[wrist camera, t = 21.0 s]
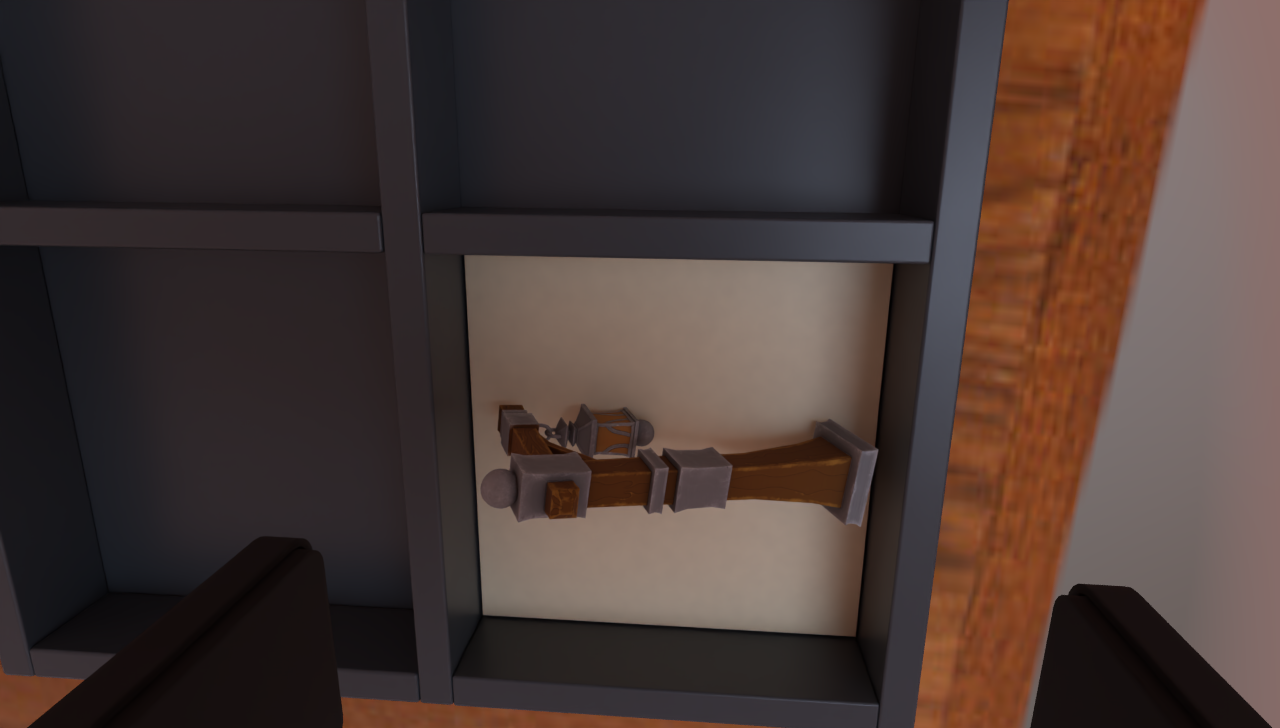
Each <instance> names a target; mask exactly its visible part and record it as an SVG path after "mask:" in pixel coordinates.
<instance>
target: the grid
mask: <svg viewBox="0 0 1280 728" xmlns="http://www.w3.org/2000/svg"><path fill="white" fill-rule="evenodd" d="M1008 2H1009V0H0V659H1V663H2V667H3V671H4V673H5V674H7V675H21V676H34V675H36V676H39V677H53V678H68V679H83V680H85V679H87V678H88V677H89V676H90V675H92V674H93V673H94V672H95V671H96V670H98V669H99V668H100V667H101V666H102V665H104V664H105V663H106V662H107V661H108V660H110V659H111V658H112V657H113V656H115V655H116V654H117V653H118V652H119V651H121V650H122V649H123V648H124V647H125V646H127V645H128V644H129V643H130V642H131V641H133V640H134V639H135V638H136V637H137V636H139V635H140V634H141V633H142V632H144V631H145V630H146V629H147V628H148V627H150V626H151V625H152V624H153V623H154V622H156V621H157V620H158V619H159V618H160V617H162V616H163V615H164V614H165V613H167V612H168V611H169V610H170V609H171V608H173V607H174V606H175V605H176V604H177V603H179V602H180V601H181V600H182V599H183V598H185V597H186V596H187V595H188V594H189V593H191V592H192V591H193V590H194V589H196V588H197V587H198V586H199V585H200V584H202V583H203V582H204V581H205V580H206V579H208V578H209V577H210V576H211V575H212V574H214V573H215V572H216V571H217V570H219V569H220V568H221V567H222V566H223V565H225V564H226V563H227V562H228V561H229V560H231V559H232V558H233V557H234V556H235V555H237V554H238V553H239V552H240V551H241V550H243V549H244V548H245V547H246V546H248V545H249V544H250V543H251V542H252V541H254V540H255V539H257V538H259V537H260V536H273V537H290V538H304V539H306V540H308V541H309V543H310V544H311V546H312V549H313V550H317V551H319V552H320V553H321V555H322V556H323V561H324V567H325V575H326V583H327V591H328V599H329V607H330V615H331V623H332V631H333V640H334V648H335V656H336V664H337V672H338V680H339V688H340V696H341V697H348V698H363V699H378V700H392V701H407V702H418V701H420V699H421V702H423V703H434V704H448V705H450V704H453V703H454V704H455V705H459V706H474V707H488V708H503V709H518V710H533V711H547V712H562V713H577V714H592V715H606V716H621V717H636V718H650V719H665V720H680V721H695V722H709V723H724V724H739V725H754V726H768V727H783V728H914V723H915V715H916V707H917V700H918V692H919V684H920V677H921V669H922V661H923V654H924V646H925V638H926V631H927V623H928V615H929V608H930V600H931V592H932V585H933V577H934V569H935V562H936V554H937V546H938V539H939V531H940V523H941V516H942V508H943V500H944V493H945V485H946V477H947V470H948V462H949V454H950V447H951V439H952V431H953V424H954V416H955V408H956V401H957V393H958V385H959V378H960V370H961V362H962V355H963V347H964V339H965V332H966V324H967V316H968V309H969V301H970V293H971V286H972V278H973V270H974V263H975V255H976V247H977V240H978V232H979V224H980V217H981V209H982V201H983V193H984V186H985V178H986V170H987V163H988V155H989V147H990V140H991V132H992V124H993V117H994V109H995V101H996V94H997V86H998V78H999V71H1000V63H1001V55H1002V48H1003V40H1004V32H1005V25H1006V17H1007V9H1008ZM581 404H585V405H586V406H587V407H588V409H589V410H590V411H591V412H592V413H600V412H614V411H619V410H622V409H623V407H627V408H628V410H629V411H630V412H631V413H632V414H633V415H634V416H635V417H636V418H637V419H638V420H639V419H641V420H646V421H648V422H650V423H651V425H652V426H653V428H654V438H653V440H652V441H651V442H650V443H649V444H648V445H646V446H642V447H641V446H636V451H635V457H637V454H638V449H643V450H645V449H649V448H650V447H651V449H652V450H653V451H654V452H655V453H656V454H657V455H658V456H662V452H663V448H668V449H673V450H702V449H705V448H709V447H713V448H714V449H715V450H716V451H718V452H719V453H720V454H733V453H746V452H752V451H757V450H763V449H769V448H775V447H780V446H786V445H792V444H797V443H800V442H804V441H807V440H810V439H813V436H814V431H815V426H816V421H818V422H826V421H827V420H828V419H831V420H833V421H834V422H836V423H837V424H839V425H840V426H842V427H844V428H845V429H847V430H848V431H850V432H852V433H853V434H855V435H856V436H858V437H859V438H861V439H863V440H864V441H866V442H867V443H869V444H871V445H872V446H874V447H875V448H877V449H879V450H878V454H877V459H876V463H875V467H874V472H873V476H872V480H871V485H870V489H869V493H868V498H867V502H866V506H865V511H864V515H863V520H862V524H861V527H860V526H858V525H857V524H850V523H848V524H847V525H845V524H843V523H842V522H841V521H840V520H839V519H837V518H836V517H835V516H834V515H833V514H831V513H830V512H829V511H828V510H827V509H825V508H824V507H823V506H822V505H820V504H814V503H801V502H786V501H771V500H756V499H751V500H727V501H726V507H725V509H722V508H715V507H706V508H693V509H686V510H683V511H680V512H677V513H674V512H673V511H672V509H671V508H670V507H669V506H668V505H663V509H662V514H660V513H655V512H654V513H651V514H648V513H647V511H646V510H645V508H644V507H643V506H620V507H597V508H587V511H586V518H581V517H577V518H566V519H549V518H535V519H529V520H525V521H522V522H518V521H517V519H516V517H515V515H514V513H513V511H512V509H511V507H510V506H509V507H507V508H502V509H500V508H494V507H491V506H490V505H488V504H487V503H486V502H485V501H484V499H483V498H482V495H481V490H480V487H481V483H482V481H483V479H484V477H485V476H486V475H487V474H488V473H489V472H490V471H493V470H495V469H507V470H509V469H510V459H511V456H507V455H506V453H505V451H504V449H503V447H502V445H501V437H500V433H499V431H498V430H497V429H498V416H499V405H523V408H524V410H527V413H532V414H533V416H534V417H535V419H536V420H537V422H538V423H543V424H546V425H548V426H549V427H550V428H556V426H557V424H558V422H559V420H560V418H561V417H562V418H563V419H564V421H565V423H566V424H567V426H568V424H569V421H571V422H572V423H573V424H574V422H575V421H576V419H577V416H578V414H579V411H580V407H581ZM545 430H546V428H543V427H539V433H540V435H542V436H543V437H544V438H547V436H546V435H545ZM552 434H555V432H552ZM548 441H549V442H551V443H554V444H557V445H559V446H561V445H560V444H559V442H558V441H557V439H556V438H550V440H548ZM566 448H567V449H570V450H573V451H576V452H578V453H581V452H580V450H579V449H578V447H577V445H576V444H575V445H574V446H573V447H572V445H571V444H570V442H569V441H567V447H566ZM593 458H594V459H614V458H629V457H626V456H622V455H603V454H598V455H593Z"/></svg>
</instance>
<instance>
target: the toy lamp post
mask: <svg viewBox="0 0 1280 728" xmlns="http://www.w3.org/2000/svg"><path fill="white" fill-rule="evenodd" d="M539 427H543V428H546V430H545V435H546V436H547V438H544V437H543V436H542V435H540V433H539ZM497 430H498V431H499V433H500V437H501V445H502V447H503V449H504V451H505V453H506V455H507V456H511V459H510V469H509V470H507V469H495V470H493V471H490V472H489V473H488V474H487V475H486V476H485V477H484V479H483V481H482V483H481V487H480V490H481V495H482V498H483V499H484V501H485V502H486V503H487V504H488V505H490V506H491V507H494V508H500V509H502V508H507V507H509V506H510V507H511V509H512V511H513V513H514V515H515V517H516V519H517V521H518V522H522V521H525V520H529V519H535V518H549V519H566V518H577V517H581V518H586V511H587V508H597V507H620V506H643V507H644V508H645V510H646V511H647V513H648V514H651V513H654V512H655V513H660V514H662V509H663V505H668V506H669V507H670V508H671V509H672V511H673V512H674V513H677V512H680V511H683V510H686V509H693V508H706V507H715V508H722V509H725V507H726V501H727V500H751V499H756V500H771V501H786V502H801V503H814V504H820V505H822V506H823V507H824V508H825V509H827V510H828V511H829V512H830V513H831V514H833V515H834V516H835V517H836V518H837V519H839V520H840V521H841V522H842V523H843V524H845V525H847V524H848V523H850V524H857V525H858V526H860V527H861V524H862V520H863V515H864V511H865V506H866V502H867V498H868V493H869V489H870V485H871V480H872V476H873V472H874V467H875V463H876V459H877V454H878V450H879V449H877V448H875V447H874V446H872V445H871V444H869V443H867V442H866V441H864V440H863V439H861V438H859V437H858V436H856V435H855V434H853V433H852V432H850V431H848V430H847V429H845V428H844V427H842V426H840V425H839V424H837V423H836V422H834V421H833V420H831V419H828V420H827V421H826V422H818V421H816V426H815V431H814V436H813V439H810V440H807V441H804V442H800V443H797V444H792V445H786V446H780V447H775V448H769V449H763V450H757V451H752V452H746V453H733V454H720V453H719V452H718V451H716V450H715V449H714V448H713V447H709V448H705V449H702V450H673V449H668V448H663V452H662V456H658V455H657V454H656V453H655V452H654V451H653V450H652V449H651V447H650V448H649V449H645V450H643V449H638V454H637V457H635V451H636V446H641V447H642V446H646V445H648V444H649V443H650V442H651V441H652V440H653V438H654V428H653V426H652V425H651V423H650V422H648V421H646V420H641V419H639V420H638V419H637V418H636V417H635V416H634V415H633V414H632V413H631V412H630V411H629V410H628V408H627V407H623V409H622V410H619V411H614V412H600V413H592V412H591V411H590V410H589V409H588V407H587V406H586V405H585V404H581V407H580V411H579V414H578V416H577V419H576V421H575V422H574V424H573V423H572V422H571V421H569V424H568V426H567V424H566V423H565V421H564V419H563V418H562V417H561V418H560V420H559V422H558V424H557V426H556V428H550V427H549V426H548V425H546V424H543V423H538V422H537V420H536V419H535V417H534V416H533V414H532V413H527V410H524V408H523V405H499V416H498V429H497ZM552 432H555V434H552ZM550 438H556V439H557V441H558V442H559V444H560V445H561V446H559V445H557V444H554V443H551V442H549V441H548V440H550ZM567 441H569V442H570V444H571V445H572V447H573V446H574V445H575V444H576V445H577V447H578V449H579V450H580V452H581V453H578V452H576V451H573V450H570V449H567V448H566V447H567ZM598 454H603V455H622V456H626V457H629V458H614V459H594V458H593V455H598Z"/></svg>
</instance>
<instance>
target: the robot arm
mask: <svg viewBox="0 0 1280 728" xmlns="http://www.w3.org/2000/svg"><path fill="white" fill-rule="evenodd" d="M342 726H343V712H342V704H341V696H340V688H339V680H338V672H337V664H336V656H335V648H334V640H333V631H332V623H331V615H330V607H329V599H328V591H327V583H326V575H325V567H324V561H323V556H322V555H321V553H320V552H319V551H317V550H313V549H312V546H311V544H310V543H309V541H308V540H306V539H304V538H290V537H273V536H260V537H259V538H257V539H255V540H254V541H252V542H251V543H250V544H249V545H248V546H246V547H245V548H244V549H243V550H241V551H240V552H239V553H238V554H237V555H235V556H234V557H233V558H232V559H231V560H229V561H228V562H227V563H226V564H225V565H223V566H222V567H221V568H220V569H219V570H217V571H216V572H215V573H214V574H212V575H211V576H210V577H209V578H208V579H206V580H205V581H204V582H203V583H202V584H200V585H199V586H198V587H197V588H196V589H194V590H193V591H192V592H191V593H189V594H188V595H187V596H186V597H185V598H183V599H182V600H181V601H180V602H179V603H177V604H176V605H175V606H174V607H173V608H171V609H170V610H169V611H168V612H167V613H165V614H164V615H163V616H162V617H160V618H159V619H158V620H157V621H156V622H154V623H153V624H152V625H151V626H150V627H148V628H147V629H146V630H145V631H144V632H142V633H141V634H140V635H139V636H137V637H136V638H135V639H134V640H133V641H131V642H130V643H129V644H128V645H127V646H125V647H124V648H123V649H122V650H121V651H119V652H118V653H117V654H116V655H115V656H113V657H112V658H111V659H110V660H108V661H107V662H106V663H105V664H104V665H102V666H101V667H100V668H99V669H98V670H96V671H95V672H94V673H93V674H92V675H90V676H89V677H88V678H87V679H85V680H84V681H83V682H82V683H81V684H79V685H78V686H77V687H76V688H75V689H73V690H72V691H71V692H70V693H69V694H67V695H66V696H65V697H64V698H63V699H61V700H60V701H59V702H58V703H56V704H55V705H54V706H53V707H52V708H50V709H49V710H48V711H47V712H46V713H44V714H43V715H42V716H41V717H40V718H38V719H37V720H36V721H35V722H33V723H32V724H31V725H30V726H29V727H27V728H342ZM1030 728H1272V727H1271V726H1270V725H1269V724H1268V723H1267V722H1266V721H1265V720H1264V719H1263V718H1262V717H1261V716H1260V715H1259V714H1258V713H1257V712H1256V711H1255V710H1254V709H1253V708H1252V707H1251V706H1250V705H1249V704H1248V703H1247V702H1246V701H1245V700H1244V699H1243V698H1242V697H1241V696H1240V695H1239V694H1238V693H1237V692H1236V691H1235V690H1234V689H1233V688H1232V687H1231V686H1230V685H1229V684H1228V683H1227V682H1226V681H1225V680H1224V679H1223V678H1222V677H1221V676H1220V675H1219V674H1218V673H1217V672H1216V671H1215V670H1214V669H1213V668H1212V667H1211V666H1210V665H1209V664H1208V663H1207V662H1206V661H1205V660H1204V659H1203V658H1202V657H1201V656H1200V655H1199V654H1198V653H1197V652H1196V651H1195V650H1194V649H1193V648H1192V647H1191V646H1190V645H1189V644H1188V643H1187V642H1186V641H1185V640H1184V639H1183V637H1182V636H1181V635H1179V633H1177V631H1176V630H1175V629H1174V628H1172V626H1170V625H1169V623H1167V621H1166V620H1165V619H1164V618H1163V617H1162V616H1161V615H1160V614H1159V613H1158V612H1157V611H1156V610H1155V609H1154V608H1153V607H1151V605H1150V604H1149V603H1148V602H1147V601H1146V600H1145V599H1144V598H1143V597H1142V596H1141V595H1140V594H1139V593H1138V592H1136V591H1135V590H1134V589H1132V588H1130V587H1125V586H1108V585H1090V584H1077V585H1075V586H1073V587H1072V589H1071V590H1070V592H1069V594H1068V595H1061V596H1059V597H1058V598H1057V599H1056V601H1055V604H1054V607H1053V612H1052V617H1051V623H1050V628H1049V633H1048V638H1047V644H1046V649H1045V654H1044V659H1043V665H1042V670H1041V675H1040V680H1039V685H1038V691H1037V696H1036V701H1035V706H1034V712H1033V717H1032V722H1031V727H1030Z"/></svg>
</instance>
